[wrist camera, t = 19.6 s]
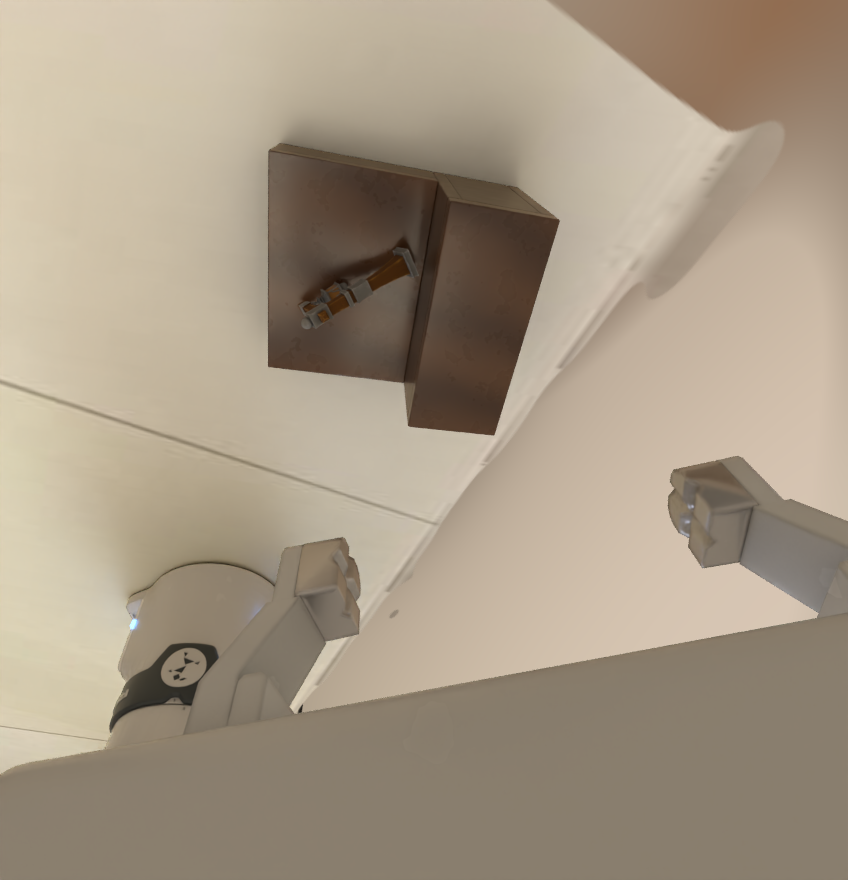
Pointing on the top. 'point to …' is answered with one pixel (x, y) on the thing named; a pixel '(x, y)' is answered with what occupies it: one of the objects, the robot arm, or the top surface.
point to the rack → (405, 279)
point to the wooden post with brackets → (355, 290)
